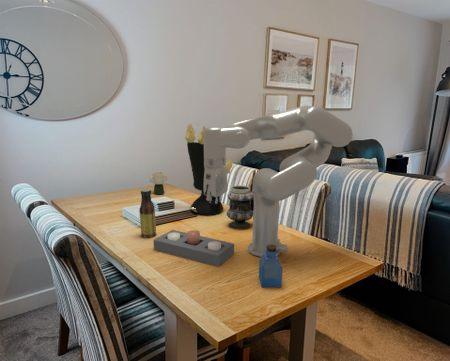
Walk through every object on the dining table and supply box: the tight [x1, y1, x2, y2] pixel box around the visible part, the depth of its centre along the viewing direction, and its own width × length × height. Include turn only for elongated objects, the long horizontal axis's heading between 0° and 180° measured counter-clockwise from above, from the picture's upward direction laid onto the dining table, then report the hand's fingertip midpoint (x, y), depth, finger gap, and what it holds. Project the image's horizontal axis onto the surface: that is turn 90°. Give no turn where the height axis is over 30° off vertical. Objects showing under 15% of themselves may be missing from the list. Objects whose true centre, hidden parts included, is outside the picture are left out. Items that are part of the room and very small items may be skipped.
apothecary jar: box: [226, 184, 254, 230], centre depth 155 cm, size 12×12×18 cm
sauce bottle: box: [138, 188, 157, 239], centre depth 141 cm, size 7×6×20 cm
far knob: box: [167, 232, 180, 241], centre depth 132 cm, size 5×5×5 cm
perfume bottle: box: [258, 244, 283, 288], centre depth 107 cm, size 6×6×12 cm
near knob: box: [208, 241, 221, 251], centre depth 124 cm, size 5×5×5 cm
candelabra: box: [184, 123, 233, 216], centre depth 170 cm, size 19×22×45 cm
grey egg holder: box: [153, 229, 235, 268], centre depth 128 cm, size 28×12×4 cm, turn 62°
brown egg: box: [186, 230, 201, 246], centre depth 128 cm, size 5×5×5 cm
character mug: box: [149, 171, 168, 195], centre depth 207 cm, size 11×7×13 cm, turn 120°
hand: (215, 213), depth 123 cm, fingers closed
